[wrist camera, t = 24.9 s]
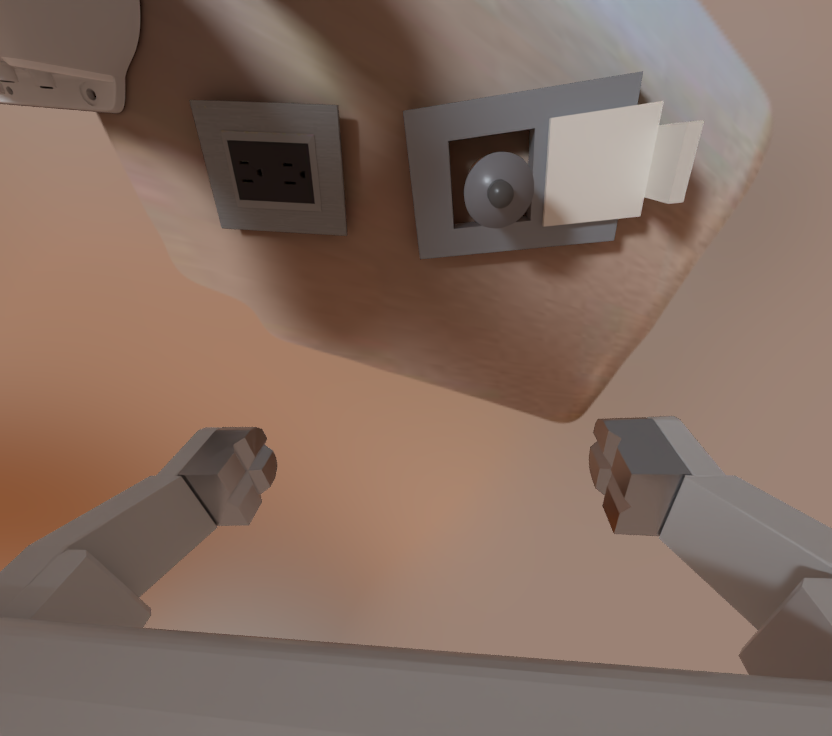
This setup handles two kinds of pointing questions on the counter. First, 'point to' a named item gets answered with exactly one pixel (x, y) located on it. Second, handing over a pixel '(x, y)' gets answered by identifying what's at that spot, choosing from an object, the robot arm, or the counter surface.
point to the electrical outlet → (274, 165)
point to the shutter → (615, 163)
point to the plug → (498, 189)
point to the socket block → (518, 113)
